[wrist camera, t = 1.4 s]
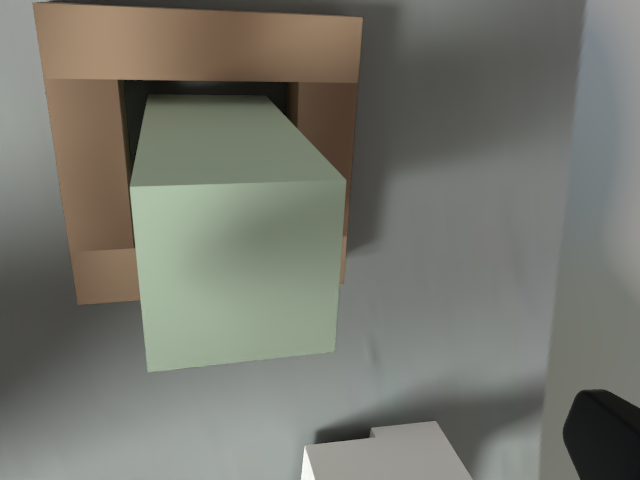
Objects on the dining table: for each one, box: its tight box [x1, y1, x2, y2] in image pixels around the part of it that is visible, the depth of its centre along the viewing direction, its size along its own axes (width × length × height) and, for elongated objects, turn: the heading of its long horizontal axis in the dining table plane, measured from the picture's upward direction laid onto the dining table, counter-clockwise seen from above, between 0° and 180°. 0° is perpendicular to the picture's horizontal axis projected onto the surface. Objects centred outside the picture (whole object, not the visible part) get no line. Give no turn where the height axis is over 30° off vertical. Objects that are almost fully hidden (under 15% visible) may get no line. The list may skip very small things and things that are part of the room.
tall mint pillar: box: [130, 95, 346, 372], centre depth 15 cm, size 4×4×10 cm
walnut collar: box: [33, 2, 363, 305], centre depth 19 cm, size 10×10×2 cm
